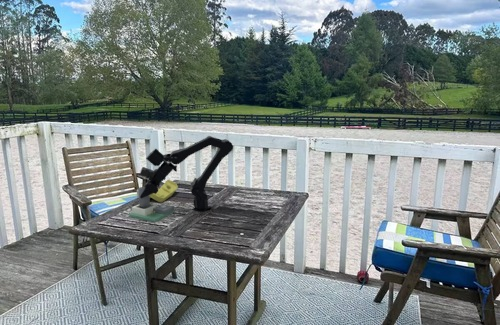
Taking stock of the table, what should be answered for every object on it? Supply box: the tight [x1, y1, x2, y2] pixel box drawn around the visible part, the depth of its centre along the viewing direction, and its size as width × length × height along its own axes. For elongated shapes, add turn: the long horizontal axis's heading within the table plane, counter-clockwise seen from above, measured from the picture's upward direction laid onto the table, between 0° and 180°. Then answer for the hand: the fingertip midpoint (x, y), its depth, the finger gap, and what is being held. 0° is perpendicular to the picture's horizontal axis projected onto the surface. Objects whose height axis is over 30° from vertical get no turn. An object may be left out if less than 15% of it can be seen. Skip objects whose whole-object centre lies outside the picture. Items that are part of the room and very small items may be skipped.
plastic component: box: [149, 179, 178, 203], centre depth 207 cm, size 20×7×10 cm
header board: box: [128, 202, 175, 223], centre depth 180 cm, size 16×14×4 cm
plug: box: [136, 186, 151, 209], centre depth 179 cm, size 6×5×12 cm
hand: (140, 195), depth 179 cm, fingers open, 6 cm apart
